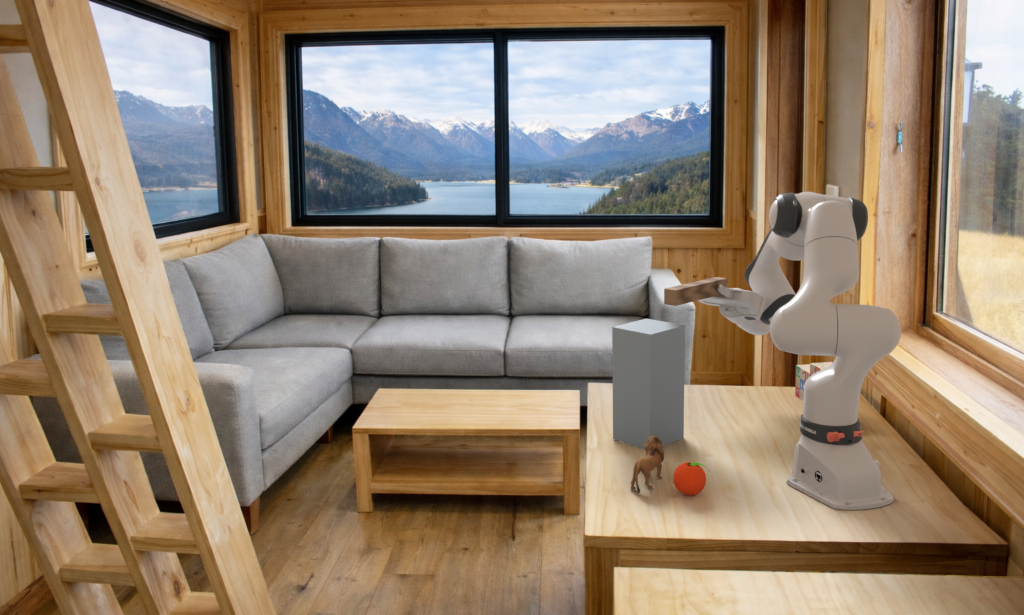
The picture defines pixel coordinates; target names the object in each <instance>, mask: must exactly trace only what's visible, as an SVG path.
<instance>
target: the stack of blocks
mask: <svg viewBox="0 0 1024 615" xmlns="http://www.w3.org/2000/svg"><path fill="white" fill-rule="evenodd" d="M832 363H833V362H832V361H826V362H825V361H824V362H810V363H809V364H808V363H807V364H795V388H794V389H795V393H794V394H795V397H797V398H798V399H799V400H801V401H802V402H803V400H804V385H805V382H806V380H807V379H808V378H809V377H810V376H811V375H813V374H814V373H816V372H818V371H820V370H823V369H825V368H827V367H829V366H830V365H831V364H832Z"/></svg>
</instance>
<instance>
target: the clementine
mask: <svg viewBox="0 0 1024 615" xmlns="http://www.w3.org/2000/svg"><path fill="white" fill-rule="evenodd" d="M702 466H703V467H704V468H705V467H706V465H705V464H702V463H700V462H695V461H694V462H692V461H686V462H683V463H681V464H679V465H678V466H677V467H676V468H675V469H674V472H673V475H672V481H673V484H674V487H675V488H676V490H677V491H678V492H680V493H681V494H682V495H684V496H696V495H698V494H700V493H701V492H702V491H703V490H704V489H705V487H706V484H707V474H706V472H705V470H704V468H702ZM706 468H707V467H706ZM707 470H708V471H709V473H711V471H710V470H709V468H707Z"/></svg>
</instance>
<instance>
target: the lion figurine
mask: <svg viewBox="0 0 1024 615" xmlns="http://www.w3.org/2000/svg"><path fill="white" fill-rule="evenodd" d="M643 447H644V448H645V456H644V457H640V458H638V459H636V461H635V462H634V466H633V474H632V475H633V476H632V478H631V481H630V491H632V492H633V491H634V492H635V491H636V493H637V494H640V493H641V488H640V484H639V474H640V473H641V474H642V475H643V478H644V485H645V486H646V488H647V489H648V490H653V489H654V486H653V485H652V484H650V479H651V477H652V474H651V472H653V471H655V470H656V479H657V480H662V479H663V476H661V475H662V469H663V465H662V463H663V462H664V460H665V450H664V446H663V444H662V441H661V439H660V438H658V437H657V436H650V437H649V438H648V439H647V442H645V443H643Z"/></svg>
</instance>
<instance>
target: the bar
mask: <svg viewBox="0 0 1024 615" xmlns="http://www.w3.org/2000/svg"><path fill="white" fill-rule="evenodd" d="M717 284H719V285H723V286H724V287H727V288H728V278H727V277H721V276H719V277H718V276H715V277H710V278H709V277H708V278H706V279H701V280H698V281H697V280H695V281H692V282H688V283H683V284H678V285H675V286H674V285H673V286H670V287H665V288H664V290H663V291H664V292H663V297H664V298H663V304H664V305H667V306H672V307H677V306H682V305H685V304H686V305H687V304H688V303H689V304H690V303H694V302H699V301H698V300H702V299H706V298H710V297H714V296H718V295H722V293H718V292H717V291H715V288H716V285H717Z"/></svg>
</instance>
